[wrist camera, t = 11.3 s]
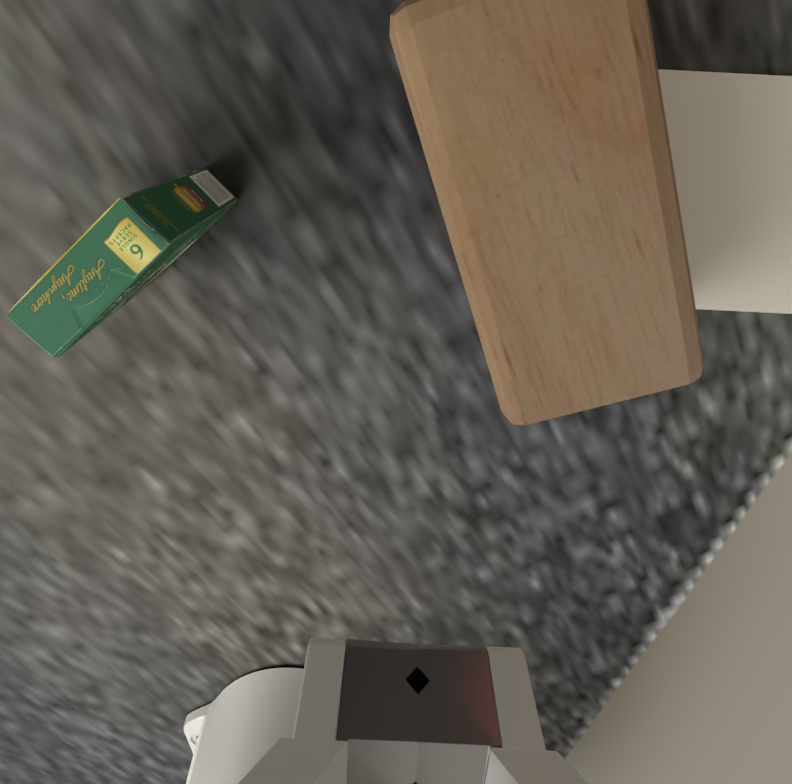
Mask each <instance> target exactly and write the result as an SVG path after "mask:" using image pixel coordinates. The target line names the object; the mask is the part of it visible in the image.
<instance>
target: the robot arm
mask: <svg viewBox="0 0 792 784" xmlns="http://www.w3.org/2000/svg"><path fill="white" fill-rule="evenodd" d="M184 733H185V735H186V737H187V740H188V742H189V745H190V747H191V749H192V752H193V754H194V755H193V758H192V762H191V766H190V770H189V774H188V778H187V782H186V784H587V783H586V782H585V781H584V780H583V778H582V777H581V776H580V775H579V774H578V773H577V772H576V771H575V770H574V769H573V768H572V767H571V766H570V764H569V763H568V762H567V761H566V760H565V759H564V758H563V757H562V756H561V755H560V753H559V752H558V751H550V750H546V748H545V743H544V739H543V734H542V730H541V725H540V721H539V717H538V712H537V708H536V703H535V699H534V694H533V690H532V686H531V681H530V677H529V672H528V668H527V663H526V659H525V655H524V652H523V651H522V650H521V648H514V647H488V646H486V647H485V648H484V647H483V646H460V645H434V644H405V643H391V642H378V641H365V640H351V639H347V641H346V640H340V639H328V638H315V637H311V640H310V642H309V644H308V648H307V654H306V659H305V665H304V669H301V668H272V669H266V670H261V671H257V672H254V673H251V674H248V675H245V676H243V677H241V678H239V679H237V680H236V681H234V682H233V683H231V684H230V685H228V686H227V687H226V688H225V689H224V690H223V691H222V692H221V693H220V694H219V696H218V697H217V698H216V699H215V700H214V701H213V702H211V703H210V704H208V705H206V706H203V707H201V708H199V709H197V710H195V711H193V712H191V713H190V714H188V715H187V717H186V720H185V724H184Z"/></svg>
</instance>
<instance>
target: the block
mask: <svg viewBox="0 0 792 784" xmlns="http://www.w3.org/2000/svg"><path fill="white" fill-rule="evenodd" d="M389 37H390V40H391V44H392V47H393V50H394V54H395V57H396V60H397V64H398V67H399V70H400V74H401V77H402V80H403V84H404V87H405V90H406V94H407V97H408V100H409V104H410V107H411V110H412V114H413V117H414V120H415V124H416V127H417V130H418V134H419V137H420V140H421V144H422V147H423V150H424V154H425V157H426V160H427V164H428V167H429V171H430V174H431V177H432V181H433V184H434V187H435V191H436V194H437V197H438V201H439V204H440V207H441V211H442V214H443V217H444V221H445V224H446V227H447V231H448V234H449V237H450V241H451V244H452V247H453V251H454V254H455V257H456V261H457V264H458V267H459V271H460V274H461V277H462V281H463V284H464V287H465V291H466V294H467V297H468V301H469V304H470V307H471V311H472V314H473V317H474V321H475V324H476V328H477V331H478V334H479V338H480V341H481V344H482V348H483V351H484V354H485V358H486V361H487V364H488V368H489V371H490V374H491V378H492V381H493V384H494V388H495V391H496V394H497V398H498V401H499V404H500V408H501V411H502V413H503V414H504V415H505V416H506V417H507V418H508V420H509V421H510V422H511V423H512V424H513V425H528V424H532V423H536V422H540V421H544V420H548V419H552V418H556V417H560V416H564V415H568V414H572V413H576V412H580V411H584V410H588V409H592V408H596V407H600V406H604V405H608V404H612V403H616V402H620V401H624V400H628V399H632V398H636V397H640V396H644V395H648V394H652V393H656V392H660V391H664V390H668V389H672V388H676V387H680V386H684V385H688V384H691V383H692V382H694V381H696V380H697V379H699V378H701V373H702V368H703V362H704V358H703V352H702V345H701V339H700V333H699V326H698V320H697V314H696V307H695V301H694V295H693V288H692V282H691V276H690V269H689V263H688V257H687V250H686V244H685V238H684V231H683V225H682V219H681V212H680V206H679V200H678V193H677V187H676V181H675V174H674V168H673V162H672V155H671V149H670V143H669V136H668V130H667V124H666V117H665V111H664V105H663V98H662V92H661V86H660V79H659V73H658V67H657V60H656V54H655V48H654V41H653V35H652V29H651V22H650V16H649V10H648V3H647V0H405V1H404V2H403V3H402V4H401V5H400V6H399V7H398V8H397V9H396V10H395V11H394V12H393V13H392V14H391V15H390V32H389Z"/></svg>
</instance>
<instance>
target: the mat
mask: <svg viewBox="0 0 792 784" xmlns="http://www.w3.org/2000/svg"><path fill="white" fill-rule="evenodd" d="M658 73H659V79H660V86H661V92H662V98H663V105H664V111H665V117H666V124H667V130H668V136H669V143H670V149H671V155H672V162H673V168H674V174H675V181H676V187H677V193H678V200H679V206H680V212H681V219H682V225H683V231H684V238H685V244H686V250H687V257H688V263H689V269H690V276H691V282H692V288H693V295H694V301H695V307H696V309H705V310H725V311H745V312H765V313H786V314H792V76H779V75H759V74H740V73H721V72H701V71H682V70H663V69H658Z"/></svg>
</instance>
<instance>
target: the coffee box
mask: <svg viewBox="0 0 792 784" xmlns="http://www.w3.org/2000/svg"><path fill="white" fill-rule="evenodd" d="M237 201H238V199H237V197H236V196H235V195H234V194H233V193H232V192H231V191H230V190H229V189H228V188H227V187H226V186H224V185H223V184H222V183H221V181H219V180H218V179H217V178H216V177H215V176H214V175H213V174H212V173H211V172H210V171H209V170H208V169H207V168H206V167H204V168H201V169H198V170H196V171H192V172H190V173H187V174H185V175H182V176H179V177H176V178H173V179H171V180H168V181H165V182H163V183H160V184H158V185H155V186H151V187H149V188H146V189H143V190H140V191H137V192H134V193H131V194H129V195H126V196H123V197H120V198H118V199H117V201H116V202H115V203H114V204H113V205H112V206H111V207H110V208H109V209H108V210H107V211H106V212H105V213H104V214H103V215H102V216H101V217H100V218H99V219H98V220H97V221H96V222H95V223H94V224H93V225H92V226H91V227H90V228H89V229H88V230H87V231H86V232H85V233H84V234H83V235H82V236H81V237H80V238H79V239H78V240H77V241H76V242H75V243H74V244H73V245H72V246H71V247H70V248H69V249H68V250H67V251H66V252H65V253H64V254H63V255H62V256H61V257H60V258H59V259H58V261H57V262H56V263H55V264H54V265H53V266H52V267H51V268H50V269H49V270H48V271H47V272H46V273H45V274H44V275H43V276H42V277H41V278H40V279H39V280H38V281H37V282H36V283H35V284H34V285H33V286H32V287H31V288H30V289H29V290H28V291H27V292H26V294H25V295H24V296H23V297H22V298H21V299H20V300H19V301H18V302H17V303H16V304H15V305H14V306H13V307H12V308H11V309H10V311H9V312H8V314H7V317H8V318H9V319H10V320H11V321H12V322H13V323H14V324H15V325H16V326H18V327H19V328H20V329H21V330H22V331H23V332H24V333H25V334H26V335H27V336H29V337H30V338H31V339H32V340H33V341H34V342H36V343H37V344H38V345H39V346H40V347H41V348H42V349H44V350H45V351H46V352H47V353H48V354H50V355H51V356H52V357H54V358H57V357H59V356H60V355H61V354H63V353H64V352H65V351H66V350H67V349H69V348H70V347H71V346H73V345H74V344H75V343H76V342H78V341H79V340H80V339H81V338H83V337H84V336H85V335H86V334H87V333H89V332H90V331H91V330H92V329H94V328H95V327H96V326H97V325H99V324H100V323H101V322H102V321H104V320H105V319H106V318H107V317H109V316H110V315H111V314H112V313H114V312H115V311H116V310H118V309H119V308H120V307H121V306H123V305H124V304H125V303H127V302H128V301H129V300H130V299H132V298H133V297H134V296H136V295H137V294H138V293H139V292H140V291H142V290H143V289H144V288H145V287H147V286H148V285H150V284H151V283H152V282H153V281H154V280H155V279H156V278H157V277H159V276H160V275H161V274H162V273H163V272H164V271H165V270H166V269H168V267H169V266H170V265H171V264H173V263H174V262H175V261H176V260H177V259H178V258H179V257H180V256H181V255H182V254H183V253H184V252H185V251H186V250H187V249H188V248H190V247H191V246H192V245H193V244H194V243H195V242H196V241H197V240H198V239H199V238H200V237H201V236H202V235H203V234H204V233H205V232H206V231H207V230H209V229H210V228H211V227H212V226H213V225H214V224H215V223H216V222H217V221H218V220H219V219H220V218H221V217H222V216H223V215H224V214H225V213H226V212H227V211H228V210H229V209H230V208H231V207H232V206H234V205H235V204H236V203H237Z"/></svg>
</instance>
